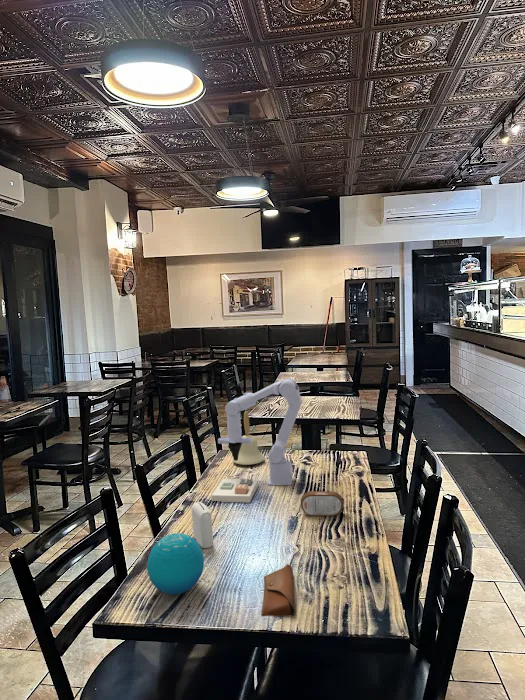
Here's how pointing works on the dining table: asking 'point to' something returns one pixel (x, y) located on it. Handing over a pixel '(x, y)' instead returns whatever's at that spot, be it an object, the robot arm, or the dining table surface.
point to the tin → (321, 503)
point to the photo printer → (202, 525)
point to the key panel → (230, 495)
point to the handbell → (249, 447)
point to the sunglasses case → (279, 593)
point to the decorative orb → (175, 563)
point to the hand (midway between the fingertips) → (236, 459)
